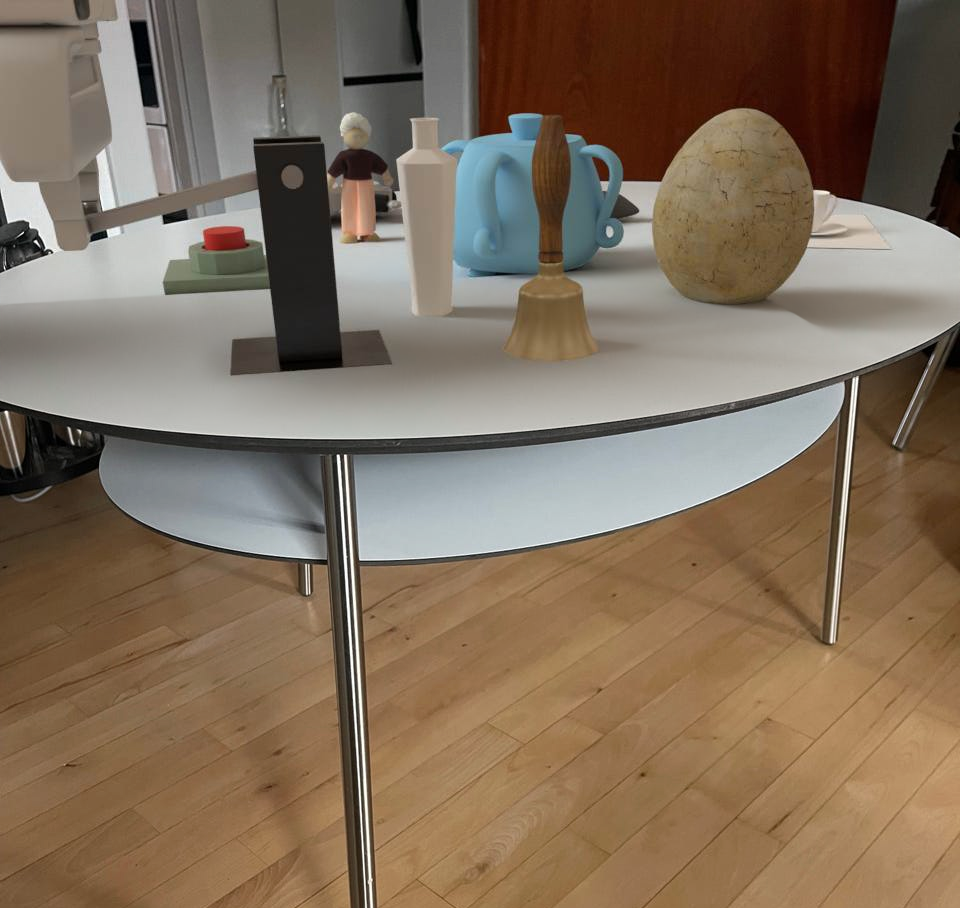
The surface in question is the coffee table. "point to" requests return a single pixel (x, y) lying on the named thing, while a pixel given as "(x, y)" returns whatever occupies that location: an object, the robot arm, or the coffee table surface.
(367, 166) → the grandmother figurine
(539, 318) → the hand bell
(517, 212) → the decorative pot
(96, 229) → the lever
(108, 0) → the robot arm
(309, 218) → the bracket
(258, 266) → the control block
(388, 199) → the robot toy
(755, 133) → the fossilized egg
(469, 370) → the coffee table surface
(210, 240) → the button
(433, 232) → the white faceted vase
